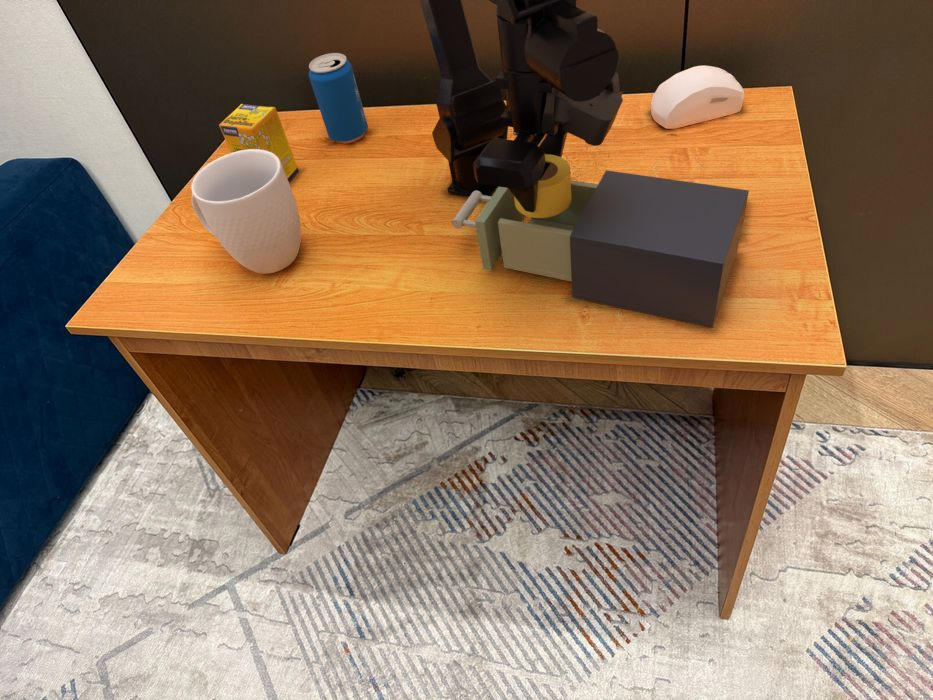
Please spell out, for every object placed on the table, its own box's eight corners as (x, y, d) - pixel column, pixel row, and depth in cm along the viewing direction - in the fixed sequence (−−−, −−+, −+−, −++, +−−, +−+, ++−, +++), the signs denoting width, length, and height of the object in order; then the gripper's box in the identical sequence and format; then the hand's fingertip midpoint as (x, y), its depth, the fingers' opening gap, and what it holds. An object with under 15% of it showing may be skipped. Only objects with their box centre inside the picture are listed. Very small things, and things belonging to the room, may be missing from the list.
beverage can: (366, 143, 108) (346, 69, 99) (326, 148, 109) (302, 75, 100) (371, 121, 113) (351, 49, 104) (332, 126, 113) (309, 54, 104)
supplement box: (246, 190, 104) (217, 125, 96) (268, 167, 108) (241, 102, 100) (279, 195, 102) (251, 128, 94) (300, 171, 106) (275, 105, 98)
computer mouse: (747, 111, 99) (755, 69, 94) (660, 133, 99) (663, 91, 94) (727, 90, 103) (733, 49, 99) (643, 111, 103) (645, 71, 98)
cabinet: (572, 297, 79) (569, 235, 73) (605, 232, 86) (605, 169, 79) (712, 328, 73) (723, 263, 67) (736, 255, 80) (749, 190, 73)
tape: (506, 213, 78) (502, 183, 75) (527, 180, 82) (524, 150, 79) (559, 222, 76) (557, 192, 73) (579, 188, 79) (578, 157, 76)
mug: (193, 274, 92) (146, 193, 83) (239, 223, 99) (200, 142, 89) (286, 292, 87) (247, 207, 78) (329, 236, 94) (297, 152, 84)
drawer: (448, 262, 85) (437, 214, 80) (484, 208, 91) (477, 161, 86) (599, 294, 78) (599, 243, 72) (628, 233, 84) (630, 183, 79)
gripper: (578, 118, 58) (582, 259, 70) (642, 19, 69) (636, 156, 80) (460, 105, 63) (482, 240, 74) (537, 13, 73) (546, 144, 84)
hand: (541, 193), depth 78 cm, fingers closed on tape, 6 cm apart
